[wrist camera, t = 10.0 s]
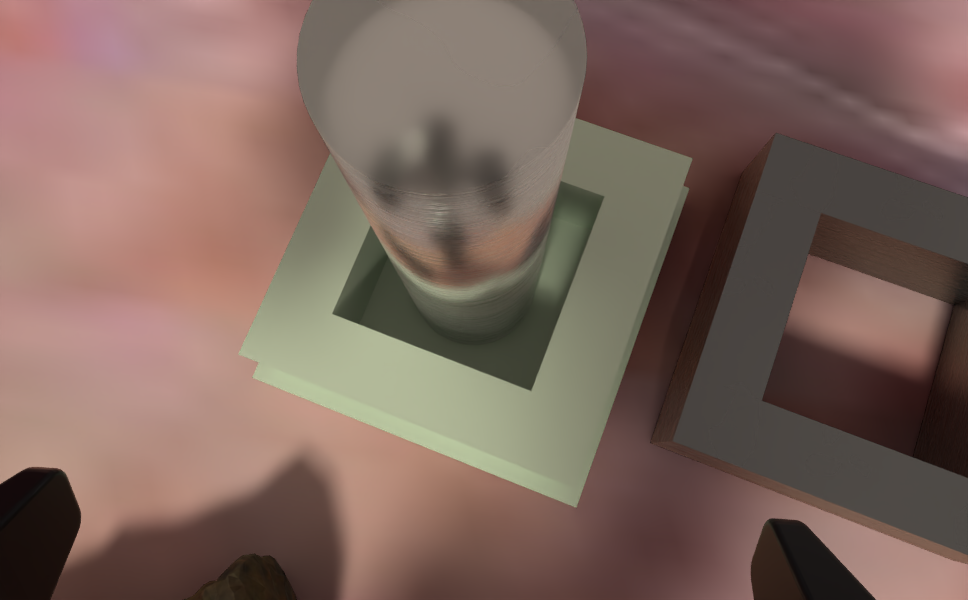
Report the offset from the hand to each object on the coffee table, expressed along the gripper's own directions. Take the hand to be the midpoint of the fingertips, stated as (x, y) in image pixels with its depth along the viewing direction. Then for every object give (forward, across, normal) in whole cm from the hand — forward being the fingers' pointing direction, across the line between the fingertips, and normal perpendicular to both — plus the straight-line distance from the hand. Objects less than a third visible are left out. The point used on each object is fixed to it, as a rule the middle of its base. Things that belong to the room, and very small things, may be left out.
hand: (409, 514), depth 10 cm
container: (+13, 0, +5) cm, 14 cm away
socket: (+12, -11, +6) cm, 17 cm away
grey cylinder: (+12, 0, +4) cm, 13 cm away
